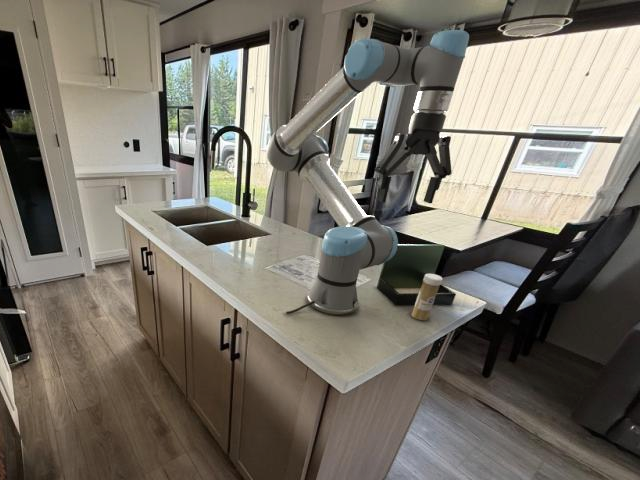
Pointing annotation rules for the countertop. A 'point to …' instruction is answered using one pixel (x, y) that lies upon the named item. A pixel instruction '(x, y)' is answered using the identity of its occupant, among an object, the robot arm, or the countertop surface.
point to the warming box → (412, 274)
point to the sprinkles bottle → (426, 296)
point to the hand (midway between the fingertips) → (404, 202)
